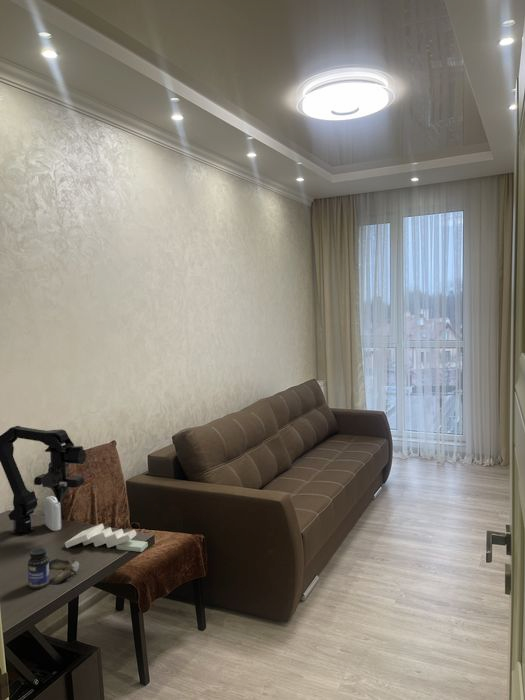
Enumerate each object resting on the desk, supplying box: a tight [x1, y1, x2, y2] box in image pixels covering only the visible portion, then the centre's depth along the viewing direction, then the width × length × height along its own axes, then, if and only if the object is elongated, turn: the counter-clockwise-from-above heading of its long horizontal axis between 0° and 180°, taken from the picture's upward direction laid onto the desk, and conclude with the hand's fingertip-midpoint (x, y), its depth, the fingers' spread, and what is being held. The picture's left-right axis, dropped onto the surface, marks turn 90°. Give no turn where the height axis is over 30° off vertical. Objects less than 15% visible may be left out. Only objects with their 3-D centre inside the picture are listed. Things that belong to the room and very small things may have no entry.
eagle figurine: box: [49, 556, 80, 585], centre depth 173 cm, size 8×7×9 cm
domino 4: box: [105, 529, 138, 549], centre depth 197 cm, size 2×5×10 cm
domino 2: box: [81, 527, 113, 546], centre depth 199 cm, size 2×5×10 cm
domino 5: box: [116, 539, 149, 553], centre depth 196 cm, size 2×5×10 cm
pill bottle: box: [27, 547, 50, 590], centre depth 169 cm, size 6×6×11 cm
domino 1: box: [64, 523, 105, 549], centre depth 200 cm, size 2×11×10 cm
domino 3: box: [92, 528, 125, 548], centre depth 198 cm, size 2×5×10 cm
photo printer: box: [43, 495, 62, 532], centre depth 215 cm, size 10×4×12 cm, turn 39°
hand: (59, 502), depth 207 cm, fingers closed
